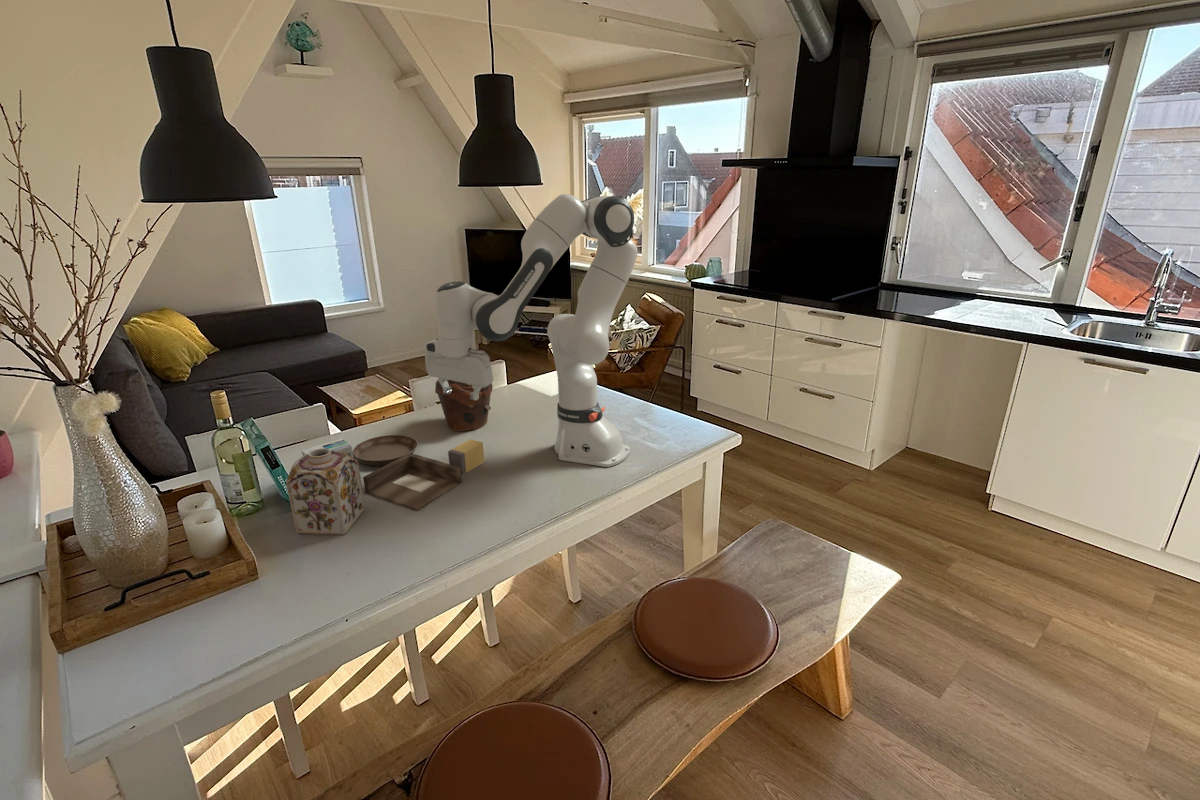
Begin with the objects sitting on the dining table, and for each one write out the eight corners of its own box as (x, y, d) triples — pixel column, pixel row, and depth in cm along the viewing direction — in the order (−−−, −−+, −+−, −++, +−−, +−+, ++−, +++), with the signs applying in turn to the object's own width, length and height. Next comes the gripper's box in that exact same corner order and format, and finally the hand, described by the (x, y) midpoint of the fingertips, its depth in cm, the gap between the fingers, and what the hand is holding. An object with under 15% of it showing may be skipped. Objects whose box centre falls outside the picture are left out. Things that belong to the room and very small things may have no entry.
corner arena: (461, 482, 158) (460, 467, 156) (417, 510, 145) (415, 494, 143) (412, 467, 166) (410, 452, 165) (365, 492, 153) (362, 477, 152)
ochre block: (484, 461, 170) (482, 442, 167) (462, 475, 162) (460, 454, 160) (471, 458, 172) (470, 439, 169) (449, 471, 164) (448, 451, 162)
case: (437, 439, 184) (433, 383, 177) (438, 415, 202) (434, 364, 196) (496, 434, 188) (494, 380, 181) (492, 411, 206) (489, 361, 200)
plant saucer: (386, 439, 185) (385, 429, 183) (431, 450, 177) (430, 440, 176) (340, 462, 170) (338, 452, 169) (387, 475, 162) (386, 465, 161)
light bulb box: (348, 473, 163) (341, 437, 159) (358, 481, 159) (352, 444, 155) (307, 486, 156) (300, 449, 152) (317, 496, 152) (310, 457, 148)
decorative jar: (294, 534, 136) (279, 463, 129) (319, 507, 147) (307, 440, 140) (346, 536, 135) (333, 464, 129) (367, 508, 146) (357, 441, 140)
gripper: (496, 348, 152) (499, 399, 157) (436, 338, 162) (441, 386, 167) (480, 354, 147) (484, 407, 152) (419, 343, 157) (424, 393, 161)
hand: (461, 396), depth 159 cm, fingers open, 8 cm apart
